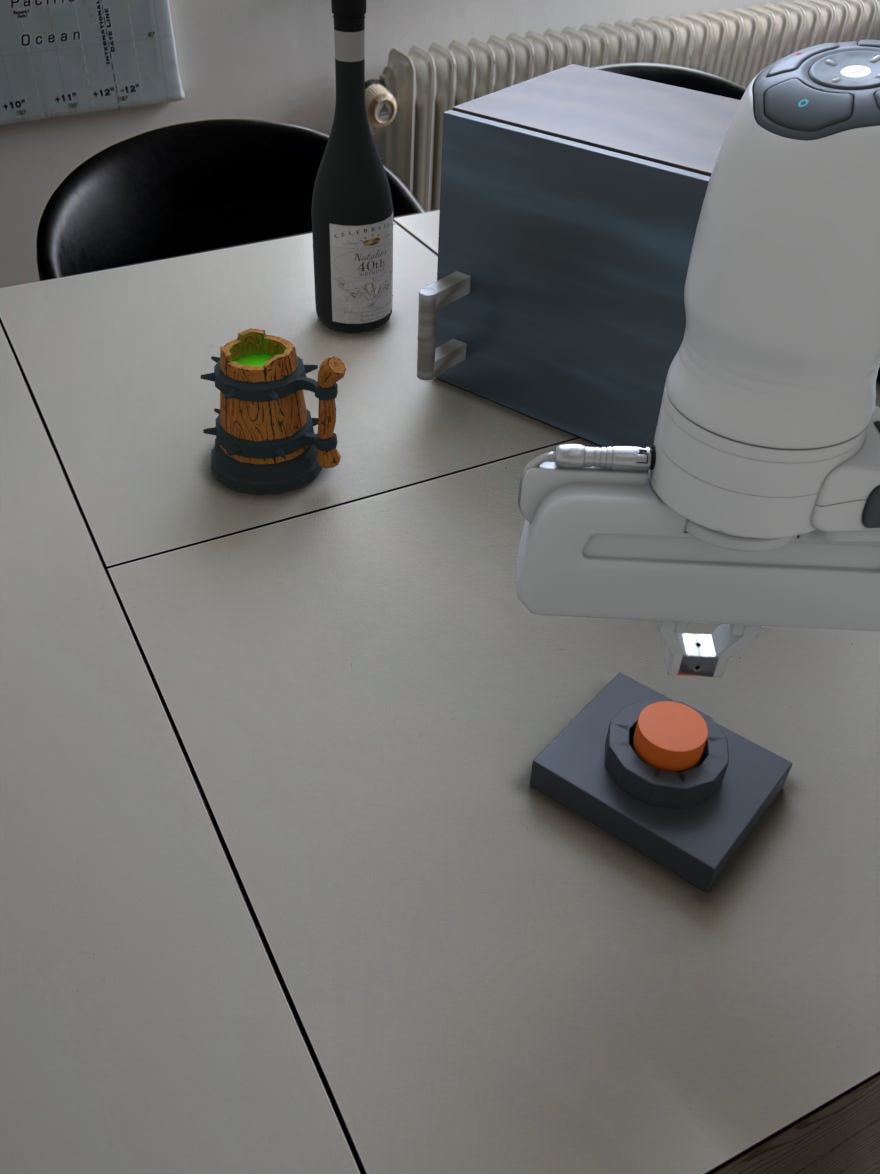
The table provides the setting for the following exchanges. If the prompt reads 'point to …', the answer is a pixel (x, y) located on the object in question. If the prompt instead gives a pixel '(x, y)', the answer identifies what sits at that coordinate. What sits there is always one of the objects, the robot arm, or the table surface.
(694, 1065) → the table surface
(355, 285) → the wine bottle
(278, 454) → the mug
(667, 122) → the cupboard
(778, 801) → the table surface
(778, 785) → the button block
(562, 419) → the door
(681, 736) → the button
